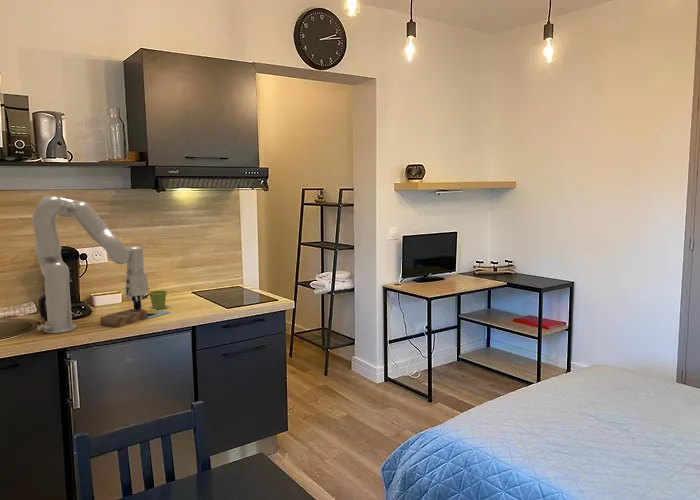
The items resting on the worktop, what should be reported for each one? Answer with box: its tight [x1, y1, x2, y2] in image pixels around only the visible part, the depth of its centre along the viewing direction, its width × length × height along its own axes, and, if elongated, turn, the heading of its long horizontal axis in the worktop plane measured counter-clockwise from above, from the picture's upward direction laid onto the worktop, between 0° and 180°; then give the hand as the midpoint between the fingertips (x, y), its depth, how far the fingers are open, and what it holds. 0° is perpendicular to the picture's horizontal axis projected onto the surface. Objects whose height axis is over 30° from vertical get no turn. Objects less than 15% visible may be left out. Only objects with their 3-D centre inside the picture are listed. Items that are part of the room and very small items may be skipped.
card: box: [139, 307, 159, 314], centre depth 262 cm, size 9×6×2 cm, turn 154°
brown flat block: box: [99, 308, 148, 329], centre depth 250 cm, size 18×10×4 cm, turn 154°
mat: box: [146, 309, 171, 320], centre depth 265 cm, size 14×12×1 cm
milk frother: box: [38, 294, 47, 319], centre depth 251 cm, size 14×16×15 cm
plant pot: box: [147, 289, 168, 310], centre depth 277 cm, size 9×9×9 cm
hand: (137, 309), depth 257 cm, fingers closed
